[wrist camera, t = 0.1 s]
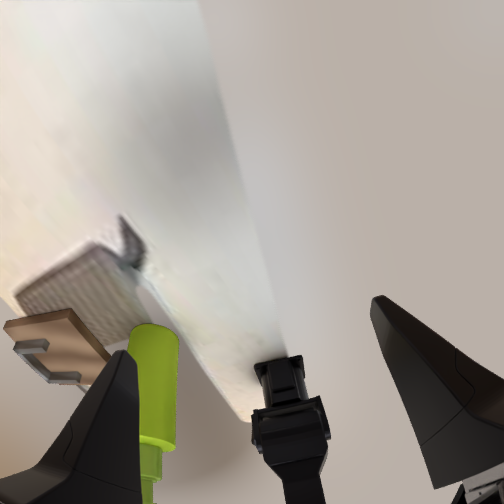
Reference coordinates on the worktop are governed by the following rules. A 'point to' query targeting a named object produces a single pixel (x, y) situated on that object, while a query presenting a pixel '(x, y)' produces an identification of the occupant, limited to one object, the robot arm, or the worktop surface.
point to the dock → (58, 347)
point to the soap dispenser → (155, 398)
